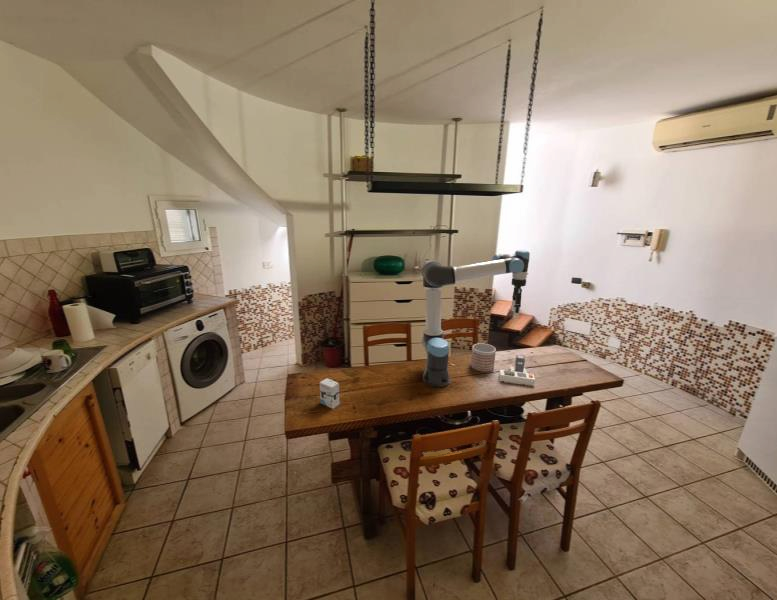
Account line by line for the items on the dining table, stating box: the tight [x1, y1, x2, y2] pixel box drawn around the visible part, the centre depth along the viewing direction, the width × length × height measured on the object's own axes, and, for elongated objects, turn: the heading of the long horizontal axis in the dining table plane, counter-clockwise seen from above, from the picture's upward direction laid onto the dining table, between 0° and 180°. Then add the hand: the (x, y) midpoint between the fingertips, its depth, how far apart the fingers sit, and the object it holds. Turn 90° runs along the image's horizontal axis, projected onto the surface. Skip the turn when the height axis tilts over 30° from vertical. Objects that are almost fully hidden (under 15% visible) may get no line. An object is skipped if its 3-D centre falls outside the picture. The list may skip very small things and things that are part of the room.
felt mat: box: [509, 365, 528, 373], centre depth 194 cm, size 9×9×1 cm
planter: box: [470, 342, 497, 373], centre depth 198 cm, size 14×14×13 cm
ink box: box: [319, 378, 340, 410], centre depth 157 cm, size 8×5×12 cm, turn 56°
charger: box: [514, 354, 526, 373], centre depth 193 cm, size 4×4×9 cm
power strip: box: [498, 369, 536, 387], centre depth 183 cm, size 18×6×5 cm, turn 75°
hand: (514, 314), depth 188 cm, fingers open, 13 cm apart
